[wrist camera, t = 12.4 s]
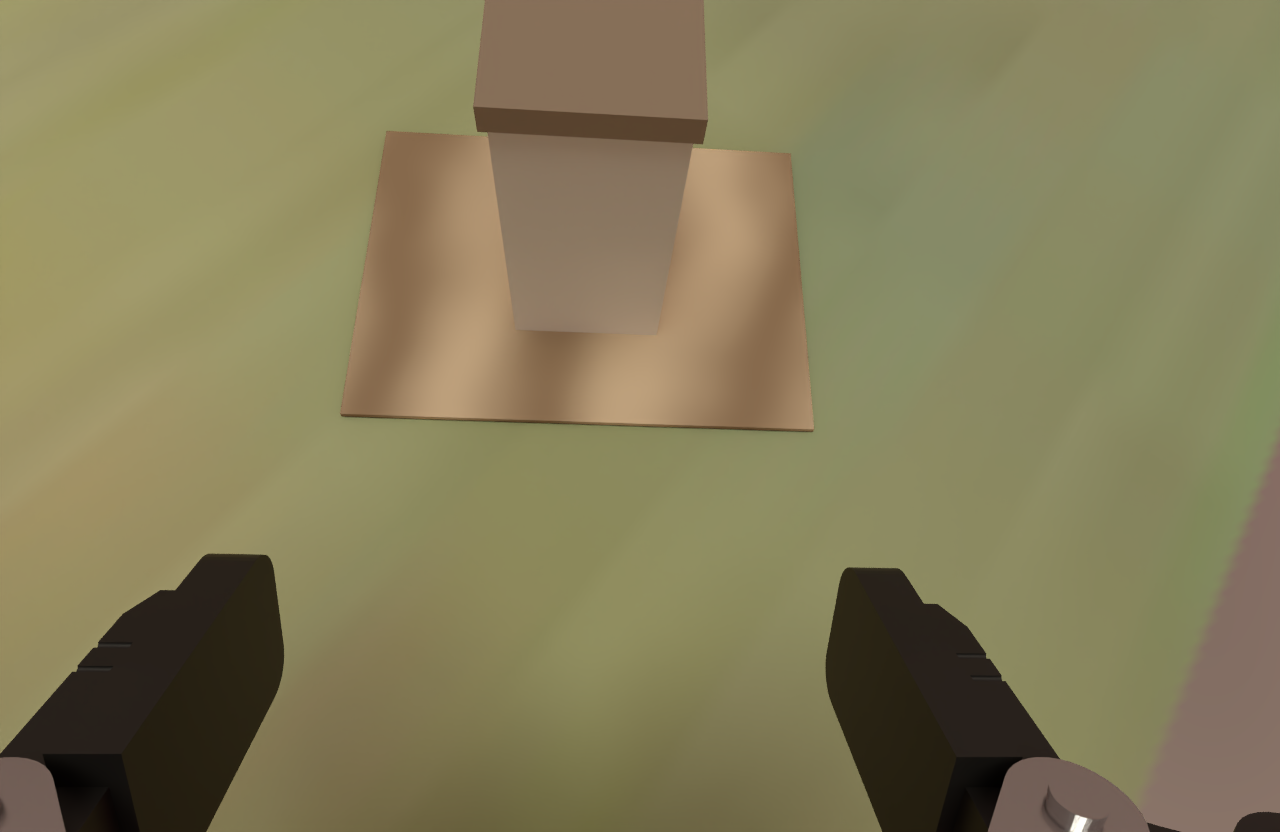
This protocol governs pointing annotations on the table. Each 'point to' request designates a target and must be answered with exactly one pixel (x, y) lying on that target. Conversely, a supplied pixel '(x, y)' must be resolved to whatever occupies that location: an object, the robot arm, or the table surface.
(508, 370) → the mat
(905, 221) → the table surface
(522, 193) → the canister
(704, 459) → the table surface
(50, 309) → the table surface
